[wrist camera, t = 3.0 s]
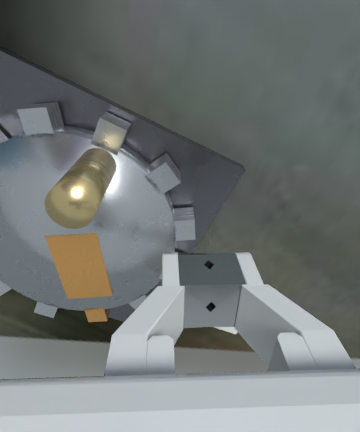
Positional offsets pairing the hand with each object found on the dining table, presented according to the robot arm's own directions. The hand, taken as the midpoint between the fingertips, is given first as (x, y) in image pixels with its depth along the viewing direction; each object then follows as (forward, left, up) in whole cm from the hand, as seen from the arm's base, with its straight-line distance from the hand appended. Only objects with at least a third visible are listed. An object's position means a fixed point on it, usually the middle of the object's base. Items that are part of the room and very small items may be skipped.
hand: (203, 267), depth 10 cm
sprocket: (+5, +9, -13) cm, 17 cm away
